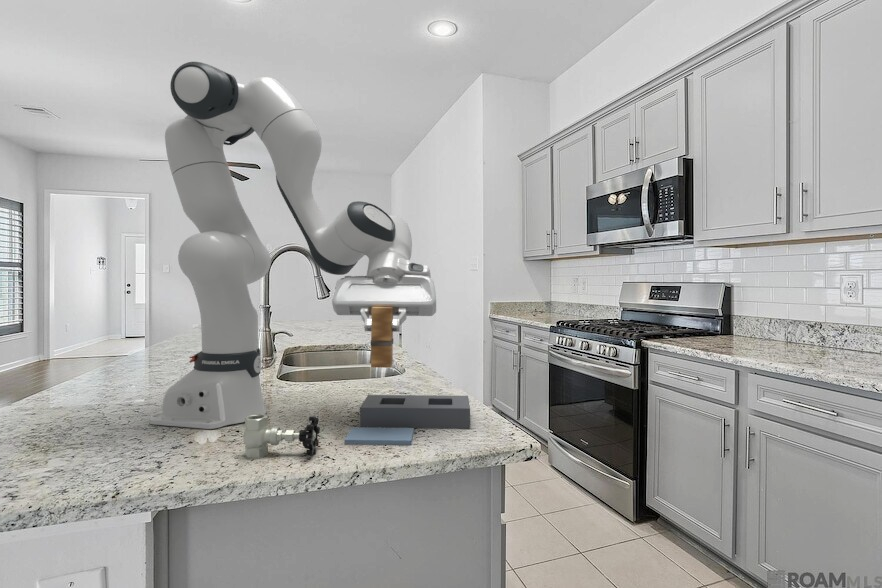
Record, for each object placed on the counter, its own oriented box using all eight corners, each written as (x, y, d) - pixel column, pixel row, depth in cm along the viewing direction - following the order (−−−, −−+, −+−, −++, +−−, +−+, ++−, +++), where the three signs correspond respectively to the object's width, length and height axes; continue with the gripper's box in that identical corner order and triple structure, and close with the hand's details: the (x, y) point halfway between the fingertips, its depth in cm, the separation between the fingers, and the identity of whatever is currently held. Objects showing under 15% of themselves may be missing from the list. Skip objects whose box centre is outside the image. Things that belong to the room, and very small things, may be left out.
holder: (359, 427, 95) (359, 407, 95) (368, 412, 105) (368, 394, 105) (470, 428, 95) (470, 408, 95) (467, 413, 105) (468, 395, 105)
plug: (370, 367, 88) (370, 308, 87) (373, 363, 92) (373, 306, 91) (390, 367, 88) (391, 308, 87) (393, 363, 92) (393, 306, 91)
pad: (344, 444, 86) (344, 439, 86) (352, 431, 93) (352, 427, 93) (411, 444, 85) (411, 440, 85) (413, 432, 92) (413, 427, 92)
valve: (236, 463, 77) (311, 462, 78) (236, 422, 77) (310, 422, 77) (251, 448, 84) (319, 447, 84) (250, 411, 84) (319, 410, 84)
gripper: (335, 265, 96) (323, 318, 87) (436, 266, 96) (435, 319, 87) (340, 286, 101) (329, 339, 91) (436, 287, 101) (435, 340, 91)
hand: (381, 329), depth 89 cm, fingers closed on plug, 4 cm apart
